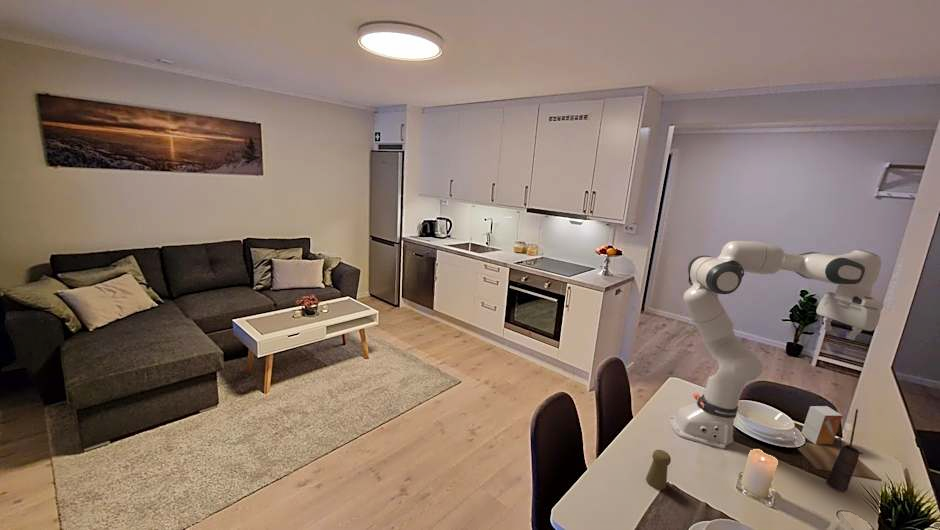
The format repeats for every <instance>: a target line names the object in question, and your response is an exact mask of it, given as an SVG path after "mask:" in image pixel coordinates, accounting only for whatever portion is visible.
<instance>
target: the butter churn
mask: <svg viewBox="0 0 940 530" xmlns="http://www.w3.org/2000/svg"><path fill="white" fill-rule="evenodd" d="M858 413H859V408H856V409H855V413H854V419H853V426H852V429H851V430H852V431H851V435H850V442H849V444H842V447H841V451H840V453H839V455H838V458H837V459H836V461H835V463H834V466H833V468H832V470H831V472H830V473H829V474H828V476H827V478H826V484H827V485H828V486H829V487H831V488H833V489H834V490H835V491H838V492H842V493H846V492H847V491H848V489H849V485H850V482H851V479H852V477H853V476H852V474H853V472H854V469H855V467H856V464H857V461H858V459H860V455H863V454H864V453H863V452H862V451H861V452H860V451H859V450H858V449H857V448H856V447H854V446H853V441H854V436H855V435H854V434H855V429H856V424H857V418H858Z"/></svg>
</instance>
